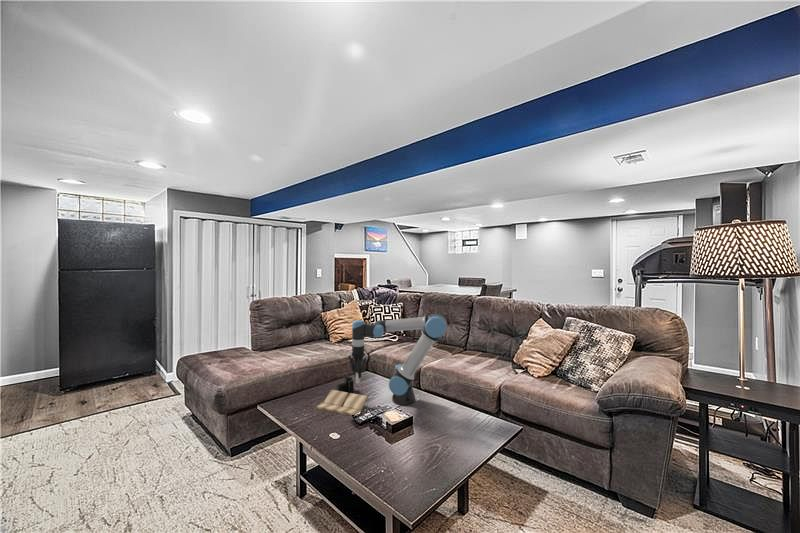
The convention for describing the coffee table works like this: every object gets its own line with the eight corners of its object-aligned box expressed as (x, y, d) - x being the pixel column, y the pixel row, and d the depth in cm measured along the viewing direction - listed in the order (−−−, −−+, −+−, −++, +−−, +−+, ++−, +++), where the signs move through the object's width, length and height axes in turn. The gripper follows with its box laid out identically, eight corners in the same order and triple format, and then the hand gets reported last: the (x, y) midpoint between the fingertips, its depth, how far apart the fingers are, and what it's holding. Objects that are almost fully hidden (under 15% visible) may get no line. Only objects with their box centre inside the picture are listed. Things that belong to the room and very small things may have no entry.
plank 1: (348, 393, 215) (348, 392, 214) (341, 407, 207) (340, 405, 206) (331, 390, 220) (331, 389, 219) (324, 403, 212) (323, 402, 211)
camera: (334, 389, 236) (334, 375, 235) (349, 387, 240) (349, 373, 240) (339, 397, 223) (339, 382, 223) (355, 394, 228) (355, 379, 227)
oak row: (361, 412, 200) (361, 410, 200) (356, 416, 195) (356, 414, 195) (322, 404, 211) (322, 402, 211) (316, 408, 205) (316, 406, 205)
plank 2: (368, 397, 210) (367, 396, 209) (361, 411, 202) (361, 409, 201) (350, 394, 214) (350, 392, 214) (343, 407, 206) (342, 406, 206)
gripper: (370, 345, 211) (369, 382, 211) (352, 342, 216) (351, 379, 216) (364, 347, 204) (364, 386, 204) (346, 345, 209) (345, 383, 209)
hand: (357, 382), depth 210 cm, fingers closed
